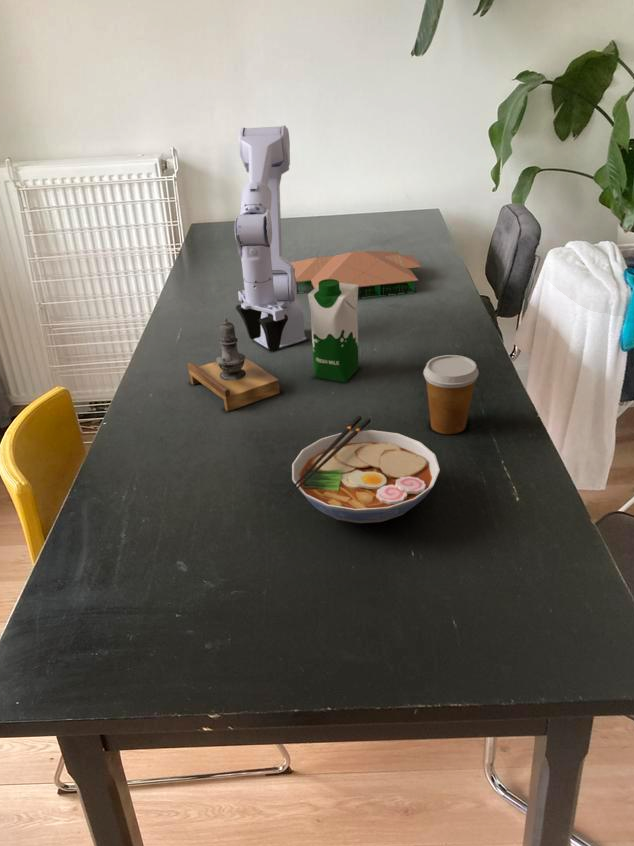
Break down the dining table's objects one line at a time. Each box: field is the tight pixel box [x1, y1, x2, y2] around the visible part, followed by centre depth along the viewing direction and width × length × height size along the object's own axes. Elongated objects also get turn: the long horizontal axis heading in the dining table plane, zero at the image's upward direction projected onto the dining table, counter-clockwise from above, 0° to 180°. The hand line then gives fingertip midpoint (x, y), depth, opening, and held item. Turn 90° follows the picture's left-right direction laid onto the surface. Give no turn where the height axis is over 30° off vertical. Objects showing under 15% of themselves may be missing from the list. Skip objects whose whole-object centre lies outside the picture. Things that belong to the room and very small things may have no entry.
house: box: [289, 250, 422, 299], centre depth 207 cm, size 23×33×8 cm
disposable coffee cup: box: [423, 354, 480, 435], centre depth 143 cm, size 10×10×12 cm
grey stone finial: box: [215, 317, 247, 381], centre depth 159 cm, size 6×6×12 cm
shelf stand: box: [187, 357, 281, 412], centre depth 163 cm, size 12×16×4 cm
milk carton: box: [307, 279, 360, 383], centre depth 162 cm, size 9×9×20 cm
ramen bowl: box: [284, 415, 441, 524], centre depth 126 cm, size 25×23×8 cm
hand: (264, 343), depth 164 cm, fingers open, 7 cm apart
